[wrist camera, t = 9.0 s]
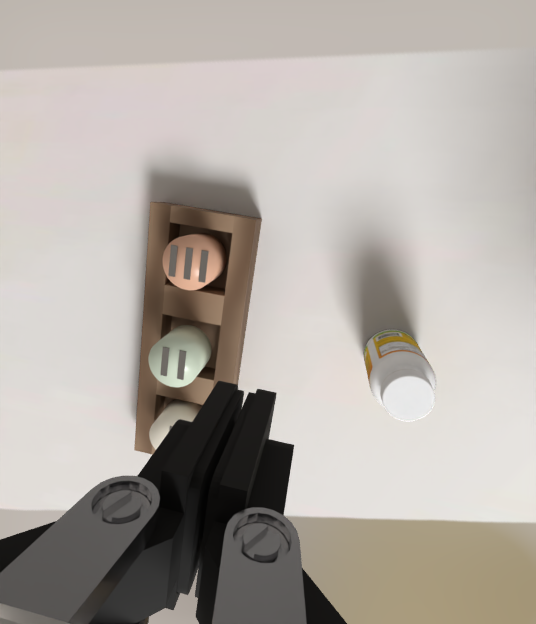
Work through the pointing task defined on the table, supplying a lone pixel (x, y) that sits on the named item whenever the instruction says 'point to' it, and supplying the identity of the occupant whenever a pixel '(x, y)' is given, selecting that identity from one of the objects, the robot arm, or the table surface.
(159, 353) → the button
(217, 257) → the button
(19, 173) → the table surface
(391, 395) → the supplement bottle
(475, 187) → the table surface
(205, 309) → the button board
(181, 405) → the button
